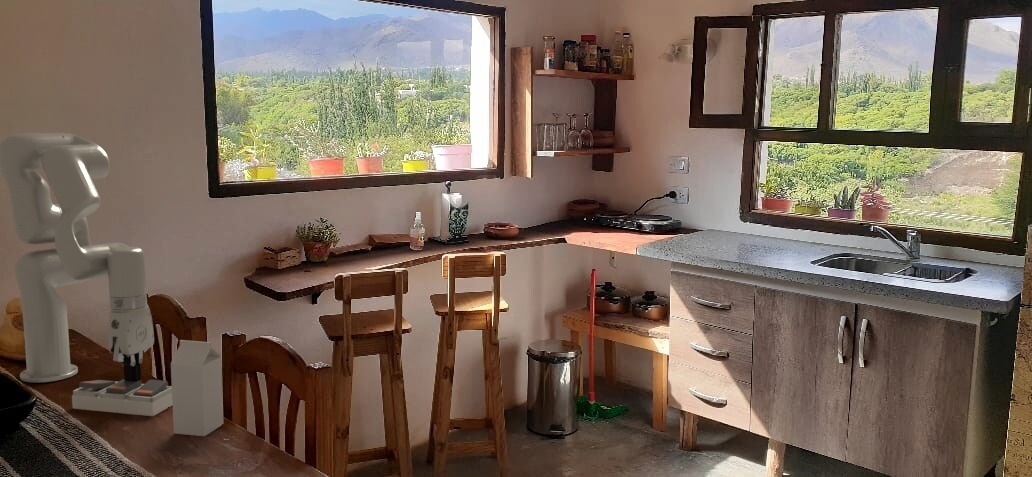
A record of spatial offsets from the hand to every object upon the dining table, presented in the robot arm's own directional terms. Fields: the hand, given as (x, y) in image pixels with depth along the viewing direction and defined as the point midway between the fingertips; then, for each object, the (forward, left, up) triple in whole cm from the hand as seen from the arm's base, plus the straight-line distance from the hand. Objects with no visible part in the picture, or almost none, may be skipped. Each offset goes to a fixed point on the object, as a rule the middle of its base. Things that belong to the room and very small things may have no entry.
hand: (133, 381), depth 187 cm
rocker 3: (+7, +1, 0) cm, 7 cm away
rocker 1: (-5, -6, 0) cm, 8 cm away
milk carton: (+26, +2, -5) cm, 27 cm away
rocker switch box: (+1, -3, -5) cm, 6 cm away
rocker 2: (+1, -3, 0) cm, 3 cm away
